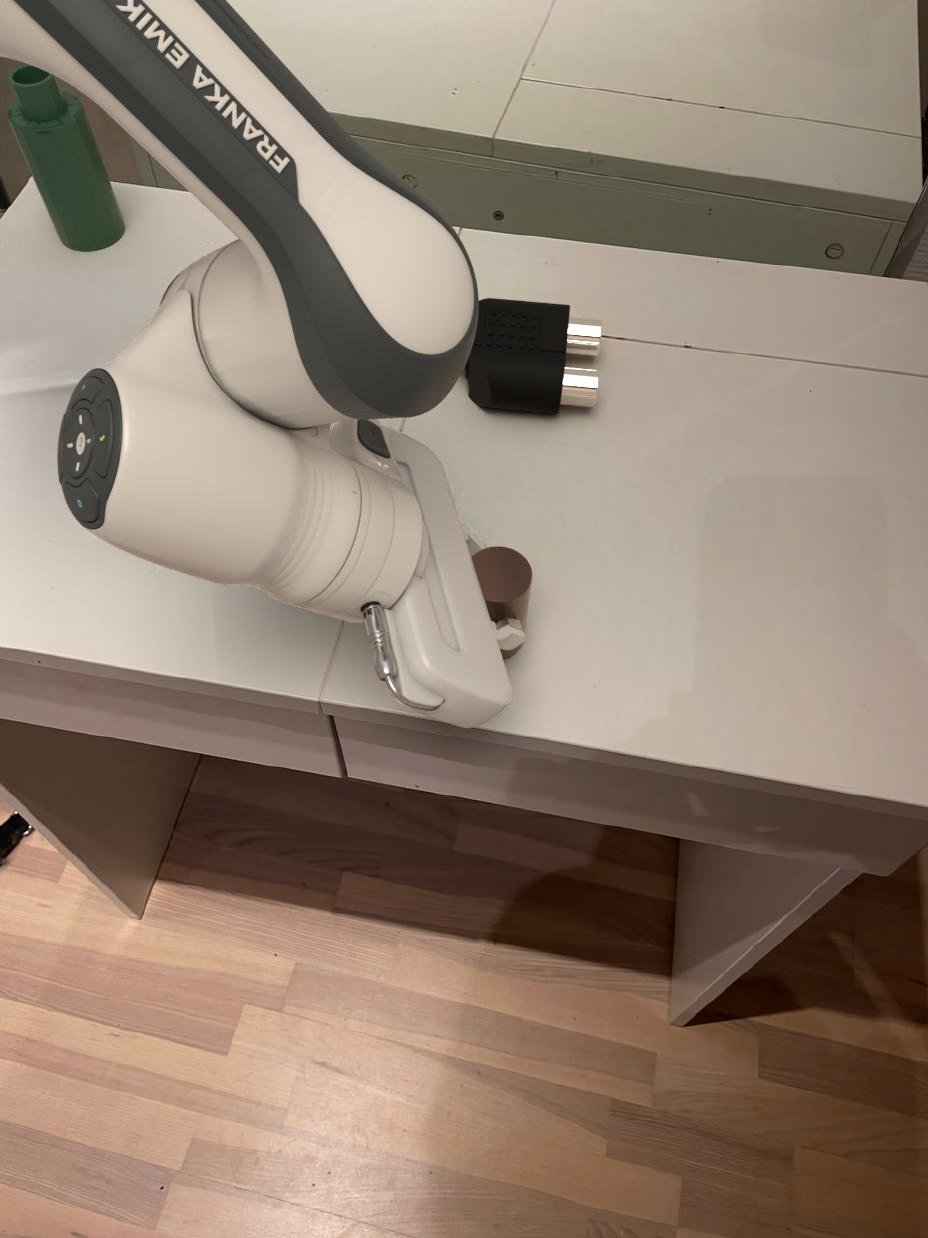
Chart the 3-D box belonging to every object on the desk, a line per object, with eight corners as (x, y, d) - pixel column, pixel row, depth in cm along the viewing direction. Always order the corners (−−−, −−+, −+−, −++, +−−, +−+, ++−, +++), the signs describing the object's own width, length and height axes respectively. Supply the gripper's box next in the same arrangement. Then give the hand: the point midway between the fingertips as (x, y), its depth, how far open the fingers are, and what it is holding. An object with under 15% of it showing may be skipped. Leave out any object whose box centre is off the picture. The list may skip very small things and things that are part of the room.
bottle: (58, 254, 86) (-11, 97, 73) (61, 215, 89) (-6, 58, 76) (124, 247, 87) (67, 90, 74) (124, 208, 90) (70, 51, 77)
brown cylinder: (470, 666, 62) (472, 606, 55) (458, 614, 65) (459, 551, 58) (530, 655, 63) (539, 595, 56) (516, 605, 65) (523, 541, 58)
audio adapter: (600, 382, 70) (294, 354, 71) (591, 430, 74) (303, 402, 76) (605, 293, 75) (321, 269, 77) (597, 342, 80) (329, 318, 81)
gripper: (426, 671, 44) (587, 713, 53) (353, 386, 54) (499, 465, 63) (347, 728, 47) (512, 757, 56) (292, 449, 57) (440, 514, 67)
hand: (504, 600), depth 60 cm, fingers closed on brown cylinder, 4 cm apart
